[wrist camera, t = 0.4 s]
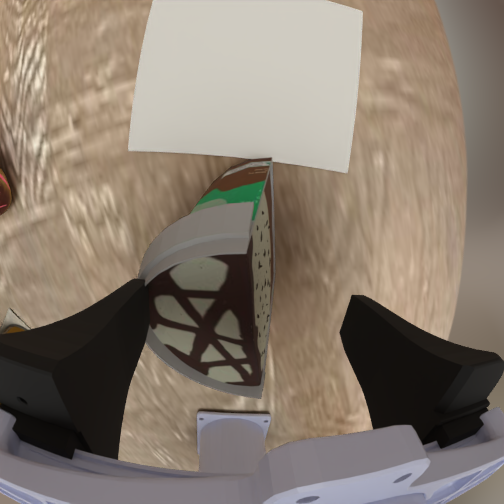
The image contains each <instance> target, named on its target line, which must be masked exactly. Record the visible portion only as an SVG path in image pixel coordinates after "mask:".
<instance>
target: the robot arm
mask: <svg viewBox="0 0 504 504" xmlns="http://www.w3.org/2000/svg"><path fill="white" fill-rule="evenodd" d="M149 325H150V309H149V290H148V284H147V285H146V286H145V280H144V279H132V280H130V281H129V282H127V283H126V284H124V285H123V286H121V287H120V288H119V289H117V290H116V291H114V292H113V293H111V294H110V295H108V296H107V297H105V298H103V299H102V300H100V301H98V302H97V303H95V304H93V305H92V306H90V307H88V308H87V309H85V310H83V311H81V312H79V313H77V314H74V315H72V316H70V317H68V318H65V319H63V320H60V321H57V322H54V323H52V324H49V325H46V326H42V327H39V328H35V329H30V330H26V331H21V332H14V333H6V334H0V492H1V493H3V494H4V495H6V496H8V497H10V498H12V499H13V500H15V501H17V502H19V503H21V504H445V503H447V502H449V501H451V500H452V499H454V498H456V497H458V496H459V495H461V494H463V493H465V492H466V491H468V490H469V489H471V488H473V487H474V486H476V485H478V484H479V483H481V482H482V481H484V480H486V479H487V478H488V477H490V476H491V475H492V474H493V473H494V472H495V471H497V470H498V469H499V468H500V467H501V466H502V465H503V464H504V414H503V412H502V411H501V409H500V408H499V407H496V408H493V409H491V410H489V411H488V409H487V408H486V407H488V406H489V404H490V403H489V401H488V400H487V397H488V395H489V394H490V392H491V391H492V390H493V388H494V387H495V386H496V384H497V383H498V381H499V379H500V378H501V376H502V374H503V371H504V361H503V360H502V359H501V357H500V356H499V355H497V354H496V353H494V352H488V351H482V350H476V349H472V348H468V347H465V346H461V345H458V344H454V343H452V342H449V341H446V340H444V339H441V338H439V337H436V336H434V335H432V334H430V333H428V332H426V331H424V330H422V329H420V328H418V327H416V326H414V325H413V324H411V323H409V322H408V321H406V320H404V319H403V318H401V317H399V316H398V315H396V314H395V313H393V312H391V311H390V310H388V309H387V308H385V307H384V306H382V305H380V304H379V303H377V302H376V301H374V300H372V299H370V298H368V297H366V296H364V295H352V296H351V299H350V302H349V305H348V308H347V312H346V315H345V318H344V321H343V324H342V327H341V329H340V336H341V340H342V343H343V347H344V350H345V353H346V355H347V357H348V359H349V362H350V364H351V366H352V368H353V370H354V373H355V375H356V377H357V379H358V381H359V384H360V386H361V388H362V391H363V393H364V396H365V399H366V403H367V406H368V410H369V413H370V418H371V422H372V426H373V430H369V431H363V432H357V433H350V434H343V435H335V436H327V437H317V438H309V439H304V440H299V441H293V442H288V443H286V444H284V445H281V446H279V447H277V448H274V449H272V450H270V451H269V452H268V453H267V454H266V449H265V439H266V435H267V432H268V428H269V425H270V421H271V415H270V414H241V413H219V412H204V411H200V412H198V413H197V450H198V454H199V472H195V471H184V470H174V469H166V468H159V467H152V466H146V465H140V464H135V463H130V462H125V461H120V460H118V452H119V443H120V434H121V427H122V421H123V415H124V409H125V404H126V399H127V394H128V390H129V386H130V383H131V380H132V377H133V374H134V371H135V369H136V366H137V363H138V360H139V358H140V355H141V352H142V350H143V347H144V344H145V342H146V338H147V334H148V329H149Z"/></svg>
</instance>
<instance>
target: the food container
mask: <svg viewBox="0 0 504 504" xmlns="http://www.w3.org/2000/svg"><path fill="white" fill-rule="evenodd" d="M137 279H144V280H145V286H146V285H147V284H148V290H149V309H150V325H149V329H148V334H147V338H146V342H145V343H146V344H147V346H148V347H149V348H150V349H151V350H152V352H153V353H154V354H155V355H156V356H157V357H158V358H159V359H161V360H162V361H163V362H164V363H165V364H167V365H168V366H169V367H171V368H172V369H174V370H175V371H177V372H178V373H180V374H181V375H183V376H185V377H187V378H189V379H191V380H193V381H195V382H197V383H199V384H202V385H204V386H207V387H209V388H212V389H215V390H218V391H222V392H225V393H229V394H233V395H238V396H244V397H250V398H258V399H261V397H262V391H263V386H264V379H265V365H266V357H267V348H268V339H269V330H270V321H271V311H272V302H273V292H274V282H275V228H274V193H273V164H272V157H270V158H258V159H252V160H249V161H246V162H244V163H241V164H238V165H236V166H233V167H231V168H229V169H228V170H227V171H226V172H225V173H223V174H222V175H221V176H220V177H219V178H217V179H216V180H215V181H214V182H213V183H212V185H211V186H210V187H209V189H208V190H207V191H206V193H205V194H204V195H203V197H202V198H201V199H200V201H199V202H198V203H197V205H196V206H195V208H194V209H193V210H192V212H191V213H190V214H189V215H187V216H185V217H183V218H181V219H179V220H178V221H176V222H174V223H173V224H171V225H170V226H168V227H167V228H165V229H164V230H163V231H162V232H161V233H160V234H159V235H158V236H157V237H156V238H155V239H154V240H153V241H152V243H151V244H150V246H149V248H148V249H147V251H146V252H145V254H144V257H143V260H142V263H141V267H140V270H139V274H138V278H137Z"/></svg>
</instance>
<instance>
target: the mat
mask: <svg viewBox="0 0 504 504" xmlns="http://www.w3.org/2000/svg"><path fill="white" fill-rule="evenodd" d="M362 17H363V11H360V10H357V9H354V8H351V7H348V6H344V5H341V4H337V3H334V2H330V1H326V0H153V3H152V7H151V11H150V15H149V19H148V23H147V27H146V31H145V36H144V41H143V45H142V50H141V56H140V61H139V67H138V73H137V79H136V85H135V92H134V99H133V107H132V115H131V124H130V134H129V146H128V151H149V152H173V153H190V154H204V155H216V156H227V157H237V158H247V159H258V158H270V157H272V162H280V163H287V164H294V165H301V166H307V167H313V168H319V169H325V170H331V171H337V172H342V173H348V166H349V159H350V152H351V145H352V138H353V130H354V122H355V113H356V104H357V95H358V84H359V72H360V58H361V42H362Z"/></svg>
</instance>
